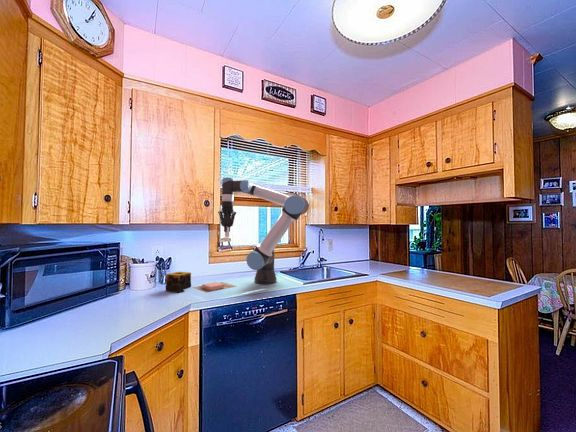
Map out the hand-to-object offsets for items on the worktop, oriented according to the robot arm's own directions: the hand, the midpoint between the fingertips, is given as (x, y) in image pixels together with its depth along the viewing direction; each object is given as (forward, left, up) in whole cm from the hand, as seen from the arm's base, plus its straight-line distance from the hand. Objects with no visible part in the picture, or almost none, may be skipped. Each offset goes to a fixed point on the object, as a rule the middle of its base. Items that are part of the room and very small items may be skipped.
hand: (226, 236), depth 174 cm
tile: (+11, +10, -28) cm, 32 cm away
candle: (+30, -4, -31) cm, 43 cm away
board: (+13, +8, -30) cm, 34 cm away
